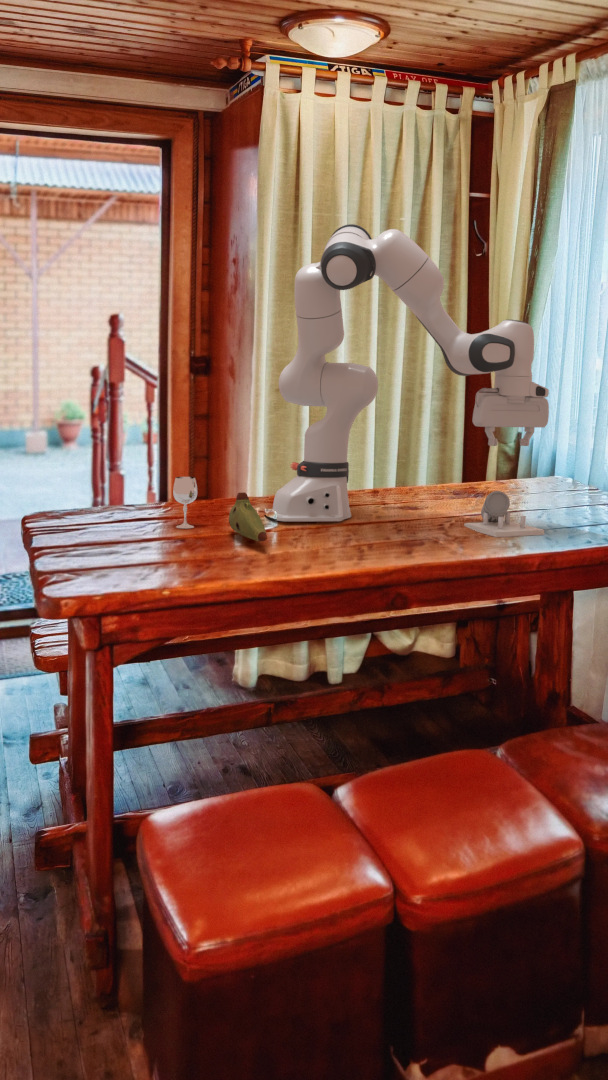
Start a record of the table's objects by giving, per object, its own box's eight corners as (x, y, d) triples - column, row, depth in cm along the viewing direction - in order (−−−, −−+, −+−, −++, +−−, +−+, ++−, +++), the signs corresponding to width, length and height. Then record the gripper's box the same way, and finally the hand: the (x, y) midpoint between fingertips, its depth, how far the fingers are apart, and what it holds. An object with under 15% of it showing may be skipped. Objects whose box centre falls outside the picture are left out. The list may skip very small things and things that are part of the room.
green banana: (277, 544, 199) (278, 499, 197) (254, 545, 196) (255, 500, 195) (241, 530, 216) (242, 488, 215) (220, 531, 214) (221, 489, 212)
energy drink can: (504, 517, 222) (497, 529, 236) (514, 496, 222) (507, 508, 237) (481, 507, 223) (476, 519, 237) (491, 486, 223) (486, 499, 238)
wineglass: (170, 525, 220) (170, 476, 218) (193, 524, 222) (194, 476, 220) (176, 529, 215) (176, 479, 212) (199, 528, 217) (199, 478, 214)
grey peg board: (495, 537, 215) (496, 519, 215) (464, 527, 228) (465, 511, 227) (544, 534, 221) (545, 517, 220) (510, 525, 233) (511, 509, 233)
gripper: (484, 387, 212) (480, 446, 214) (554, 390, 220) (550, 446, 222) (469, 387, 218) (465, 444, 220) (538, 389, 226) (534, 445, 228)
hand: (508, 445), depth 221 cm, fingers open, 8 cm apart
